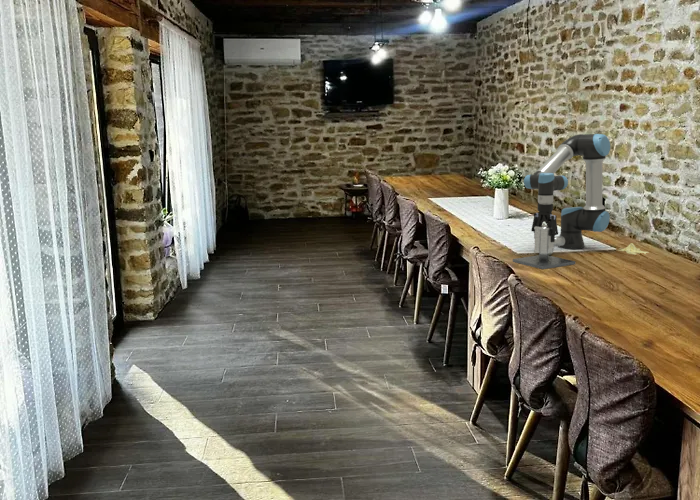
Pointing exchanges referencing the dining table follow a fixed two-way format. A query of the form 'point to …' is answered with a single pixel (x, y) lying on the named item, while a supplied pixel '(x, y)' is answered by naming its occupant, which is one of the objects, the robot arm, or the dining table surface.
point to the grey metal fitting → (545, 240)
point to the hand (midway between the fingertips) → (543, 246)
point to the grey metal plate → (543, 261)
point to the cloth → (632, 249)
